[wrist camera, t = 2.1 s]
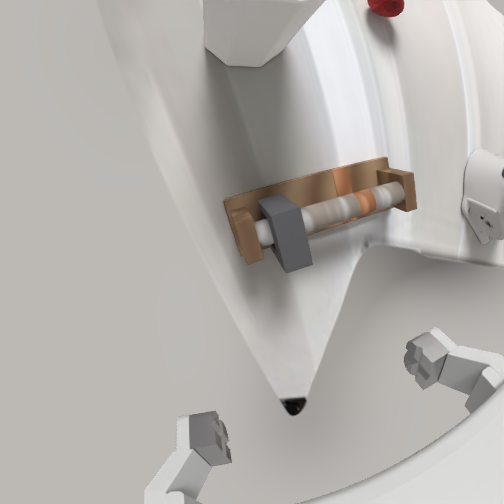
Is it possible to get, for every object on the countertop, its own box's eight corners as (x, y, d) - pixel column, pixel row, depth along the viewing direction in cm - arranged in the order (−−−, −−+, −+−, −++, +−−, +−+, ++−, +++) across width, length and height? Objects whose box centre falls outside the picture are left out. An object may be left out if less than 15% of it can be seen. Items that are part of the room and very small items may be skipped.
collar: (280, 193, 34) (300, 206, 26) (291, 239, 36) (312, 264, 28) (257, 200, 34) (270, 215, 26) (270, 246, 36) (286, 273, 28)
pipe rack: (383, 156, 36) (414, 161, 30) (390, 205, 39) (420, 218, 33) (223, 200, 36) (226, 212, 29) (240, 253, 39) (247, 277, 32)
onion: (385, 28, 28) (413, 14, 21) (355, 10, 27) (381, -9, 20) (390, 8, 27) (417, -6, 19) (362, -9, 25) (386, -28, 18)
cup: (296, 23, 28) (355, -43, 11) (266, 81, 31) (317, 26, 14) (224, -4, 25) (237, -87, 8) (188, 53, 28) (171, -22, 11)
